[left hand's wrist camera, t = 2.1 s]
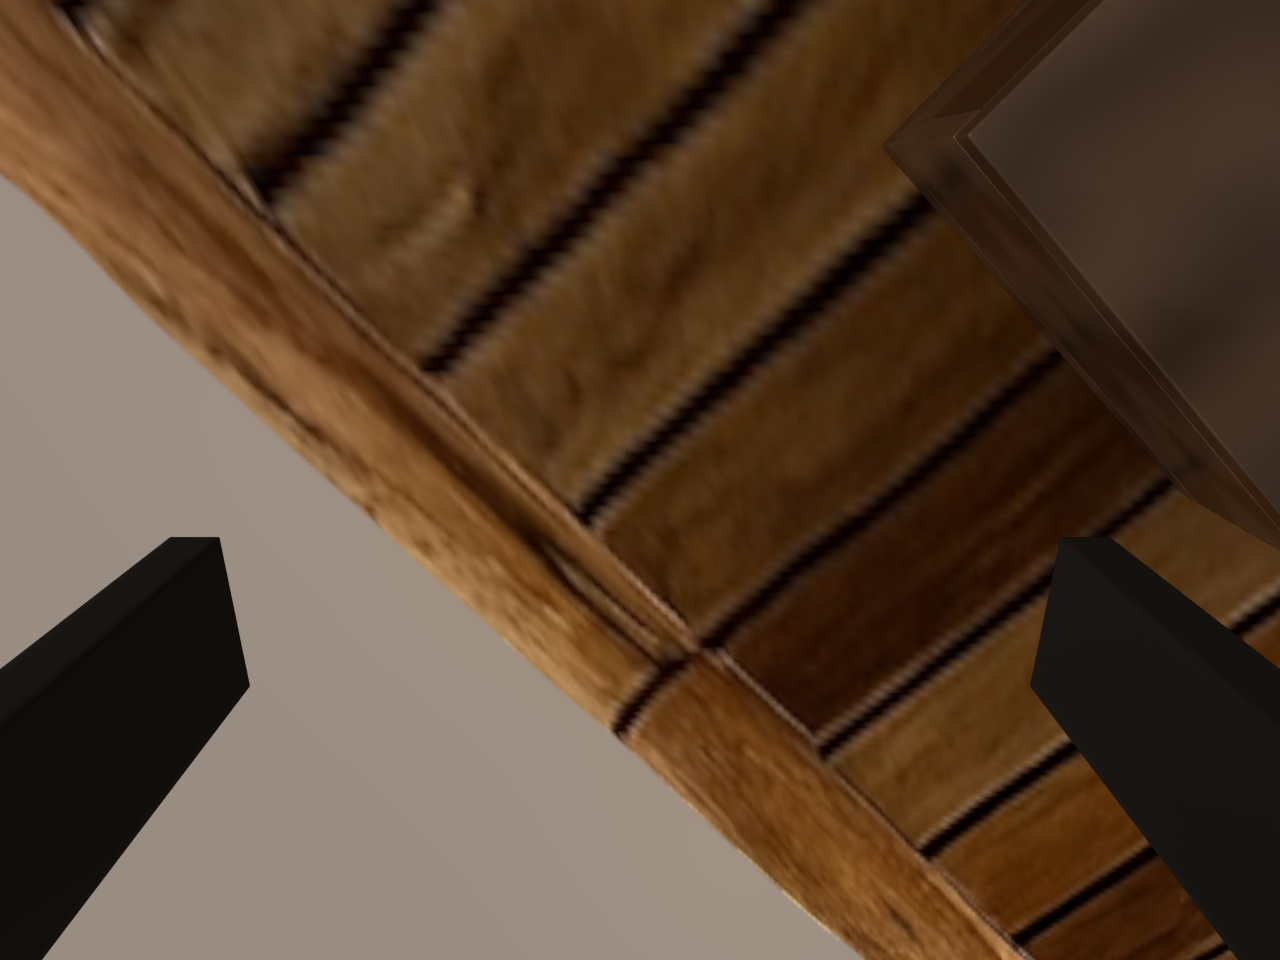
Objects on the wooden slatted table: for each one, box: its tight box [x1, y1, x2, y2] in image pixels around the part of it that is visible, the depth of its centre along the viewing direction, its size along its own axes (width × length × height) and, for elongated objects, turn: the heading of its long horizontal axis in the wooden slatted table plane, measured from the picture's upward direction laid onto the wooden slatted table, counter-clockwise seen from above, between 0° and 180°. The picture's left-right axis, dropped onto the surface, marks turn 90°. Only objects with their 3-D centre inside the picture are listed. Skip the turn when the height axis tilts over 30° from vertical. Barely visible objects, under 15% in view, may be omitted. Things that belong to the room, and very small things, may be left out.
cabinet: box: [882, 0, 1280, 550], centre depth 27 cm, size 20×12×8 cm, turn 46°
